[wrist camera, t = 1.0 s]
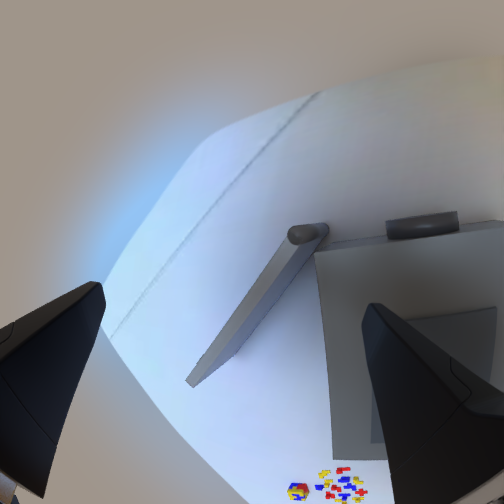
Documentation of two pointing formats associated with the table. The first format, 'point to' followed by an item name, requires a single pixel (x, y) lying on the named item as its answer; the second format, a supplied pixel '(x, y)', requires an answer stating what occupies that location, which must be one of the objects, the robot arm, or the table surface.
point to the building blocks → (301, 491)
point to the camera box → (409, 310)
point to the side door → (260, 298)
